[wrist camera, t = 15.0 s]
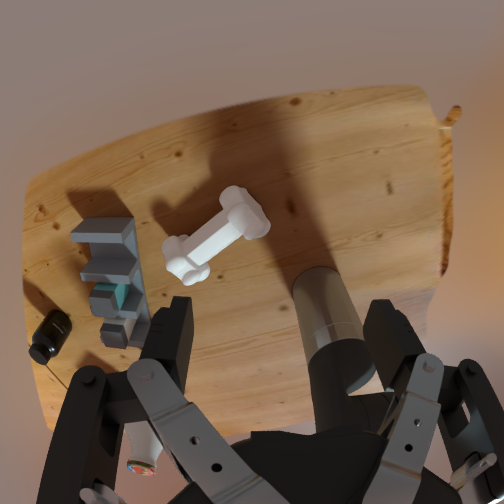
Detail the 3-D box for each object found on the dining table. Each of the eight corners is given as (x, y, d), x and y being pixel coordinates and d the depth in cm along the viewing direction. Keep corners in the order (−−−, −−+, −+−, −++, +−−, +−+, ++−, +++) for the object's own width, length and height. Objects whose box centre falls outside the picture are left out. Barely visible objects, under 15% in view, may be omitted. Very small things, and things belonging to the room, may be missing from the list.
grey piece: (151, 326, 57) (144, 347, 52) (111, 322, 56) (102, 342, 51) (134, 217, 46) (121, 233, 40) (86, 217, 45) (70, 232, 40)
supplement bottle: (72, 314, 56) (49, 353, 45) (73, 335, 59) (54, 373, 48) (47, 304, 54) (22, 340, 44) (49, 325, 57) (27, 361, 47)
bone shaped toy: (199, 266, 51) (196, 298, 44) (162, 233, 47) (153, 263, 40) (270, 213, 47) (278, 240, 40) (233, 173, 43) (235, 194, 36)
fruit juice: (142, 334, 58) (105, 455, 33) (186, 338, 58) (164, 466, 34) (148, 363, 62) (121, 474, 38) (189, 368, 63) (173, 483, 38)
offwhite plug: (136, 319, 55) (125, 349, 48) (118, 318, 55) (105, 346, 47) (133, 303, 53) (120, 332, 46) (114, 302, 53) (99, 330, 46)
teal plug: (126, 270, 49) (110, 298, 42) (129, 289, 51) (115, 318, 44) (105, 269, 49) (88, 296, 42) (110, 288, 51) (94, 316, 44)
